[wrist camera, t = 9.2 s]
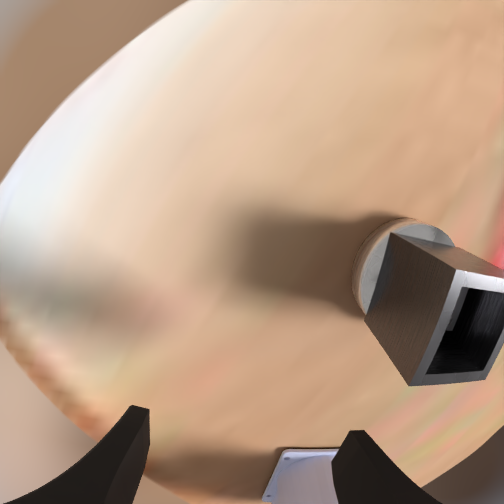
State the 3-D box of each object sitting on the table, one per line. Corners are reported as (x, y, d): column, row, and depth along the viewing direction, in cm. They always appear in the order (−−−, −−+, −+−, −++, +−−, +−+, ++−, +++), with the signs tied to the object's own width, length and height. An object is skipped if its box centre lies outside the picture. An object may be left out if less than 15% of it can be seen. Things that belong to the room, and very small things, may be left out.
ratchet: (544, 259, 19) (583, 278, 14) (520, 328, 20) (553, 355, 15) (366, 207, 17) (411, 225, 12) (337, 315, 19) (365, 363, 14)
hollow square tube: (433, 326, 17) (485, 379, 11) (364, 320, 17) (408, 386, 11) (459, 247, 16) (527, 283, 10) (390, 231, 15) (456, 269, 10)
